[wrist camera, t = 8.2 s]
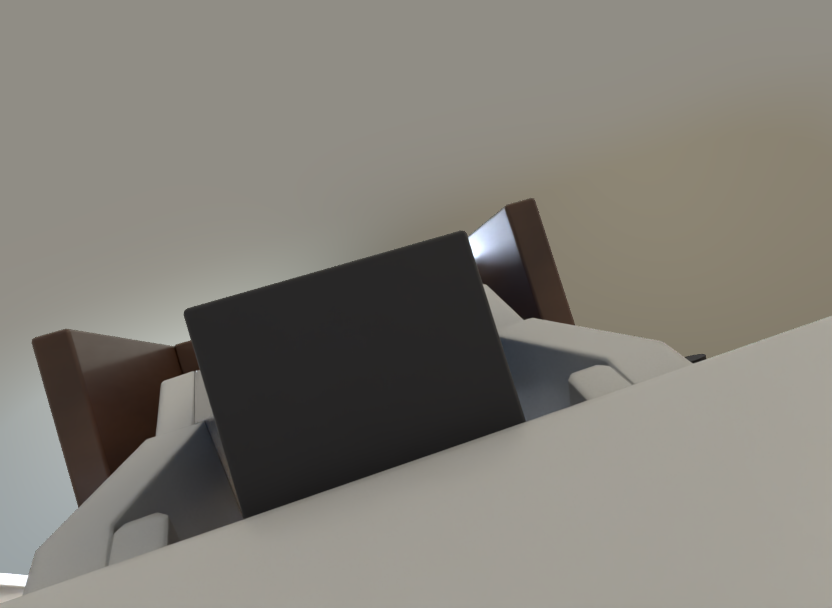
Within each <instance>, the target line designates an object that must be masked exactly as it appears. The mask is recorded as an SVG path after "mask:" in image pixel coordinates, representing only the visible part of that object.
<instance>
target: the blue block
mask: <svg viewBox="0 0 832 608" xmlns="http://www.w3.org/2000/svg"><path fill="white" fill-rule="evenodd" d="M184 318H185V321H186V324H187V327H188V331H189V335H190V338H191V341H192V345H193V348H194V352H195V355H196V358H197V362H198V365H199V369H200V372H201V375H202V379H203V382H204V386H205V389H206V392H207V396H208V399H209V403H210V406H211V409H212V413H213V416H214V420H215V423H216V426H217V430H218V433H219V437H220V440H221V443H222V447H223V450H224V454H225V457H226V460H227V464H228V467H229V471H230V474H231V477H232V481H233V484H234V487H235V491H236V494H237V498H238V501H239V504H240V508H241V511H242V515H243V518H244V519H246V518H249V517H252V516H255V515H258V514H260V513H263V512H266V511H269V510H272V509H275V508H278V507H281V506H284V505H287V504H289V503H292V502H295V501H298V500H301V499H304V498H307V497H310V496H313V495H315V494H318V493H321V492H324V491H327V490H330V489H333V488H336V487H339V486H342V485H344V484H347V483H350V482H353V481H356V480H359V479H362V478H365V477H368V476H370V475H373V474H376V473H379V472H382V471H385V470H388V469H391V468H394V467H397V466H399V465H402V464H405V463H408V462H411V461H414V460H417V459H420V458H423V457H425V456H428V455H431V454H434V453H437V452H440V451H443V450H446V449H449V448H452V447H454V446H457V445H460V444H463V443H466V442H469V441H472V440H475V439H478V438H480V437H483V436H486V435H489V434H492V433H495V432H498V431H501V430H504V429H506V428H509V427H512V426H515V425H518V424H521V423H524V422H526V420H525V416H524V413H523V410H522V407H521V404H520V400H519V397H518V394H517V391H516V388H515V385H514V381H513V378H512V375H511V372H510V369H509V366H508V362H507V359H506V356H505V353H504V350H503V347H502V343H501V340H500V337H499V334H498V331H497V328H496V324H495V321H494V318H493V315H492V312H491V309H490V305H489V302H488V299H487V296H486V293H485V289H484V286H483V283H482V280H481V277H480V274H479V270H478V267H477V264H476V261H475V258H474V255H473V251H472V248H471V245H470V242H469V239H468V236H467V233H466V232H465V231H458V232H454V233H451V234H447V235H444V236H440V237H437V238H433V239H430V240H426V241H423V242H419V243H416V244H412V245H409V246H405V247H402V248H398V249H394V250H391V251H388V252H384V253H381V254H377V255H374V256H370V257H366V258H363V259H359V260H356V261H352V262H349V263H345V264H342V265H338V266H335V267H331V268H328V269H324V270H321V271H317V272H314V273H310V274H307V275H303V276H300V277H296V278H293V279H289V280H286V281H282V282H279V283H275V284H272V285H268V286H265V287H261V288H258V289H254V290H250V291H247V292H244V293H240V294H237V295H233V296H229V297H226V298H222V299H219V300H215V301H212V302H208V303H205V304H201V305H198V306H194V307H191V308H187V309H186V310H185V311H184Z"/></svg>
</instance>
